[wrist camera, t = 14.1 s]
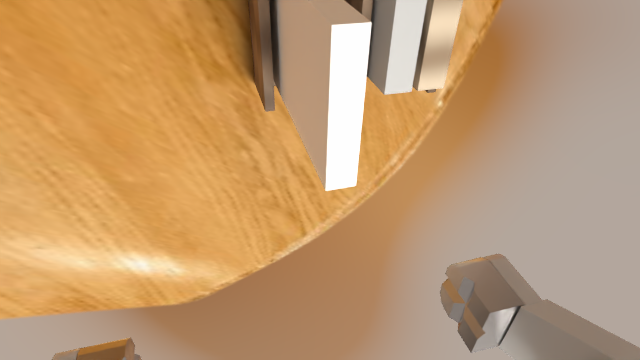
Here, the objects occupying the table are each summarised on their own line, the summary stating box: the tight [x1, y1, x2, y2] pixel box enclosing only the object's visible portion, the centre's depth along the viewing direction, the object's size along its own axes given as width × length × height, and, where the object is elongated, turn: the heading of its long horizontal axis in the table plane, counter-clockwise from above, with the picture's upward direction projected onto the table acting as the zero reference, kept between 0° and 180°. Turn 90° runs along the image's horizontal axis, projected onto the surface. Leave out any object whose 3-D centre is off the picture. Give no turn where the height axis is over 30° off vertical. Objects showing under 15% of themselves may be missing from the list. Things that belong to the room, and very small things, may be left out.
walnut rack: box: [248, 0, 436, 111], centre depth 43 cm, size 15×20×7 cm
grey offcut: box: [367, 0, 427, 95], centre depth 42 cm, size 10×3×10 cm, turn 178°
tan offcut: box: [412, 0, 463, 91], centre depth 43 cm, size 10×3×10 cm, turn 178°
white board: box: [269, 0, 372, 191], centre depth 35 cm, size 12×2×22 cm, turn 178°
